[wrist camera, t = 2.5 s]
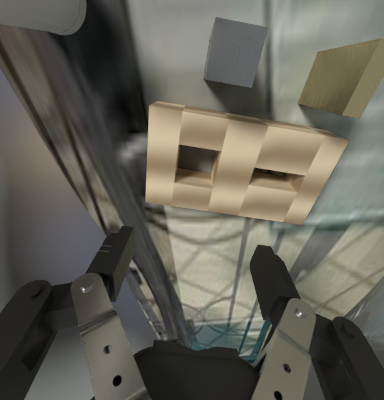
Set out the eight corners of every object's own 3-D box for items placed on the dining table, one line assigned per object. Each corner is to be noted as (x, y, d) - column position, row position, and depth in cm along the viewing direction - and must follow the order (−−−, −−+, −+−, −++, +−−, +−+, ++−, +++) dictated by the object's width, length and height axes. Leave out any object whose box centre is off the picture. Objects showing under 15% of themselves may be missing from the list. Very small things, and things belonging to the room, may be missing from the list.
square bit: (209, 40, 22) (215, 17, 13) (241, 46, 22) (268, 27, 14) (203, 78, 24) (205, 79, 15) (233, 84, 24) (251, 87, 15)
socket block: (157, 100, 25) (149, 105, 21) (325, 129, 26) (349, 139, 22) (152, 185, 31) (145, 202, 27) (288, 205, 33) (301, 224, 28)
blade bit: (318, 51, 22) (381, 38, 14) (331, 54, 22) (401, 42, 15) (297, 103, 25) (341, 115, 17) (310, 105, 25) (359, 118, 17)
